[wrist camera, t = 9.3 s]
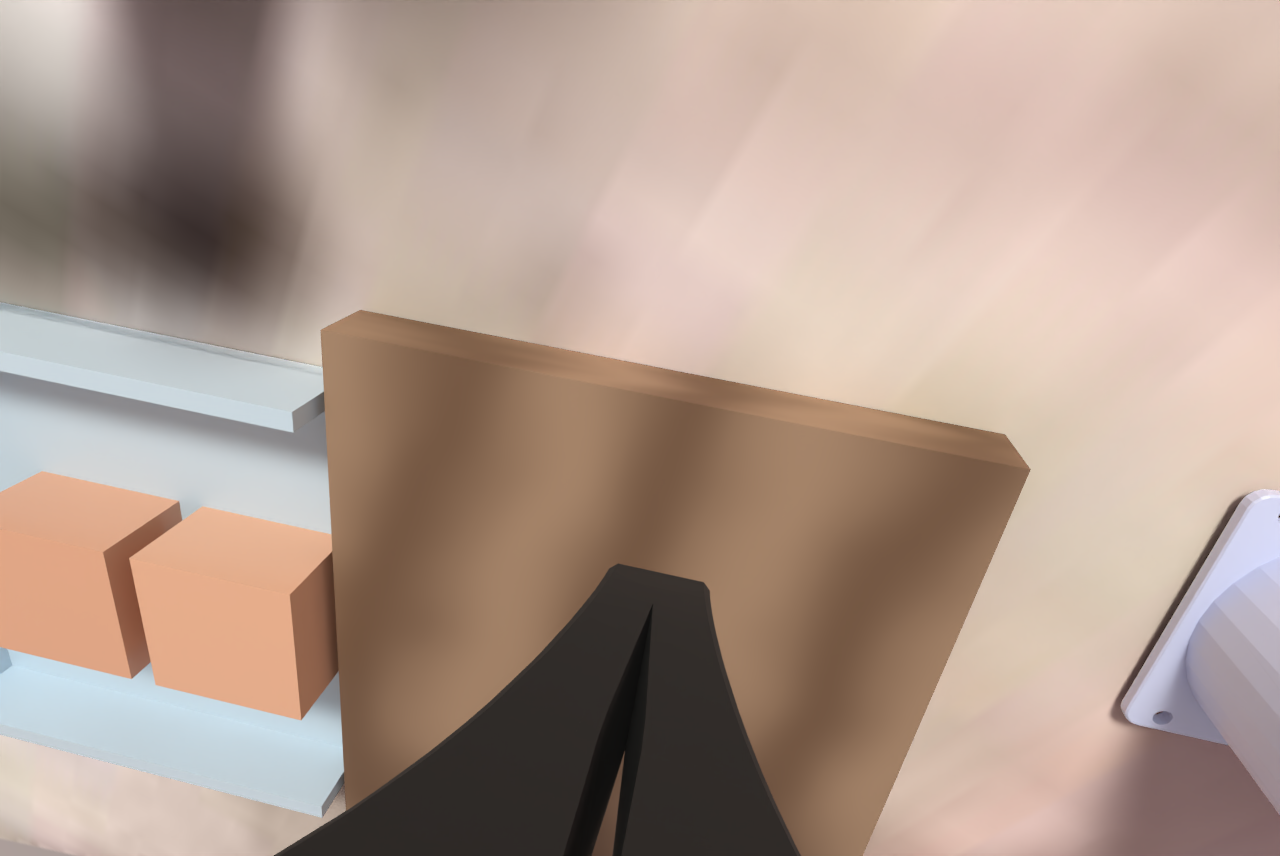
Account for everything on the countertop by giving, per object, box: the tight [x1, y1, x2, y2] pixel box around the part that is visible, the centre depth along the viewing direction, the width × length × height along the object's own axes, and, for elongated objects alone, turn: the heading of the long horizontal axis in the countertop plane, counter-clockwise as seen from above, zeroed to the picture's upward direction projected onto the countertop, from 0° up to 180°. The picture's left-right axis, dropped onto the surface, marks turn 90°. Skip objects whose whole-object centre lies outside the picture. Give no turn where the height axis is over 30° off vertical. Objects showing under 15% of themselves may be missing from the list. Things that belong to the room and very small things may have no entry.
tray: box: [0, 302, 345, 818], centre depth 24 cm, size 15×16×3 cm
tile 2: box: [129, 506, 339, 720], centre depth 23 cm, size 5×5×3 cm
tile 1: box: [0, 471, 182, 679], centre depth 23 cm, size 5×5×3 cm
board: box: [321, 310, 1031, 856], centre depth 23 cm, size 18×20×2 cm
